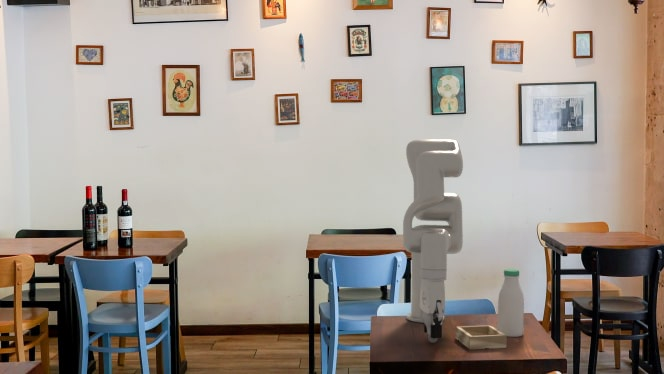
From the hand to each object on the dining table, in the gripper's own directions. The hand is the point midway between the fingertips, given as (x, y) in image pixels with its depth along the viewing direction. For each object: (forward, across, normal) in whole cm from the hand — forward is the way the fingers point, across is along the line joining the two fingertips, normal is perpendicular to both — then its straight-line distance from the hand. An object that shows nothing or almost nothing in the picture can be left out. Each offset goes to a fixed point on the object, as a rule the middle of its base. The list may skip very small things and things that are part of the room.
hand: (432, 334), depth 211 cm
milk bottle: (+3, -6, +27) cm, 28 cm away
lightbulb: (+3, 0, 0) cm, 3 cm away
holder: (+3, +2, +14) cm, 14 cm away
